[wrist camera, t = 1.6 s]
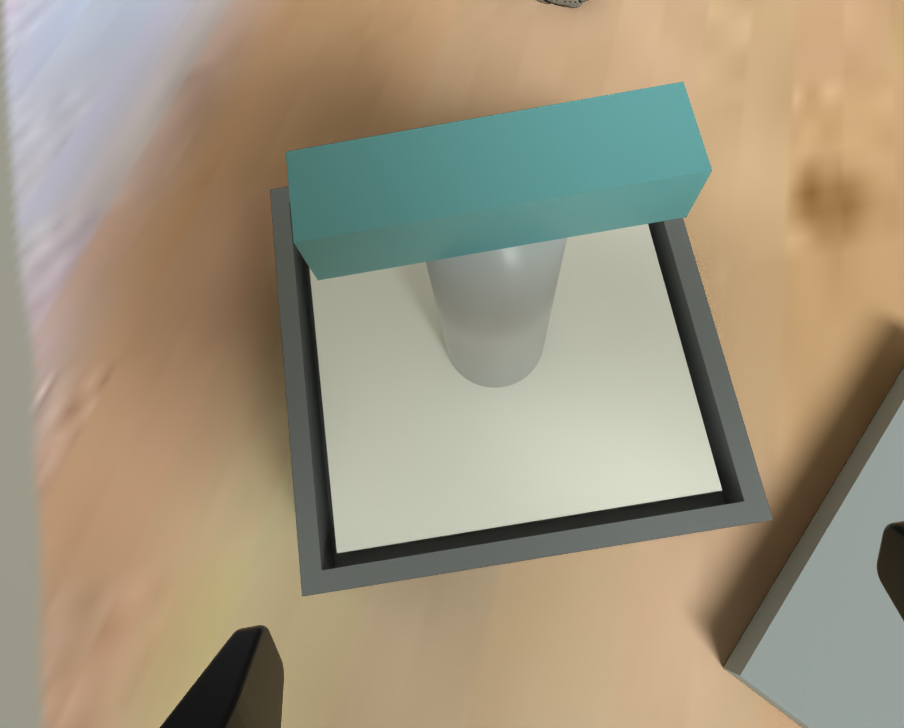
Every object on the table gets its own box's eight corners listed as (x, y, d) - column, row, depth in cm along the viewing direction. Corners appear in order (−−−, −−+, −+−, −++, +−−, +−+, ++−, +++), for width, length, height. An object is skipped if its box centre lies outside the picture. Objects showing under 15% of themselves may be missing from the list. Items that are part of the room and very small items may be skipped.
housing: (718, 528, 22) (772, 520, 17) (340, 589, 22) (302, 596, 18) (628, 196, 26) (654, 122, 21) (307, 251, 26) (270, 189, 22)
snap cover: (708, 494, 19) (940, 421, 9) (346, 553, 19) (184, 546, 9) (623, 179, 22) (723, -130, 12) (314, 232, 23) (168, -28, 13)
